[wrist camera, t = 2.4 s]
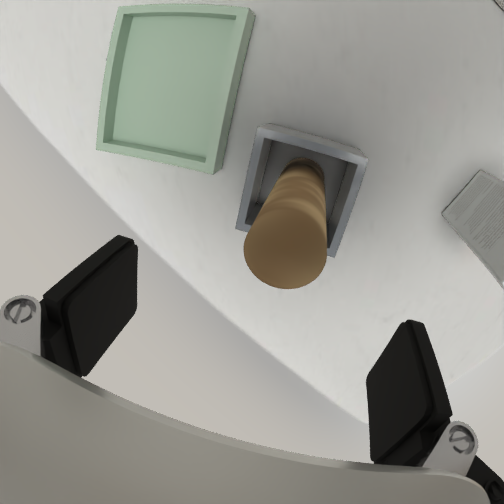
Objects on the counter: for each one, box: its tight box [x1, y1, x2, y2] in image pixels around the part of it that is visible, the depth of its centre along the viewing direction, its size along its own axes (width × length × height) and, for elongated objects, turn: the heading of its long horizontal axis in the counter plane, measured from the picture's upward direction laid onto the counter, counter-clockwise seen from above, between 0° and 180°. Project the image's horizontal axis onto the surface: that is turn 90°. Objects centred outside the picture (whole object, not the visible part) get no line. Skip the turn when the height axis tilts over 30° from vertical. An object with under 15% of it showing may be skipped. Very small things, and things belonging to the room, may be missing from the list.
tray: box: [96, 4, 255, 175], centre depth 23 cm, size 12×14×2 cm
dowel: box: [244, 158, 327, 289], centre depth 19 cm, size 4×4×14 cm
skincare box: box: [442, 170, 504, 289], centre depth 18 cm, size 6×4×12 cm
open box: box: [235, 123, 369, 258], centre depth 23 cm, size 8×8×5 cm
